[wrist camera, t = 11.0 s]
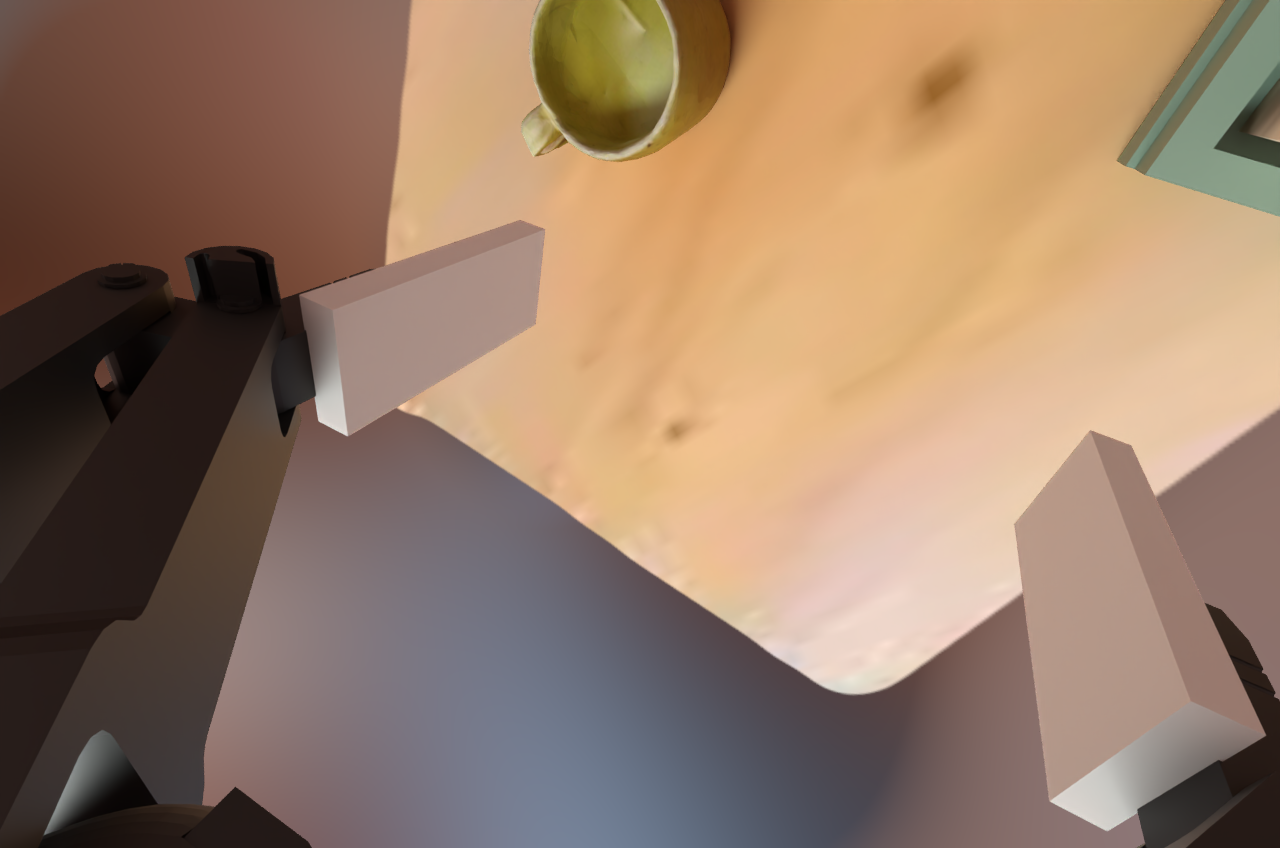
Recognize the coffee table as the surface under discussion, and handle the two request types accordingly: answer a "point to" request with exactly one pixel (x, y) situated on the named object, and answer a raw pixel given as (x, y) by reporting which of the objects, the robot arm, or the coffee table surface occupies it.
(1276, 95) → the block
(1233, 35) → the teal slotted holder
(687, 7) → the mug
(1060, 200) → the coffee table surface
